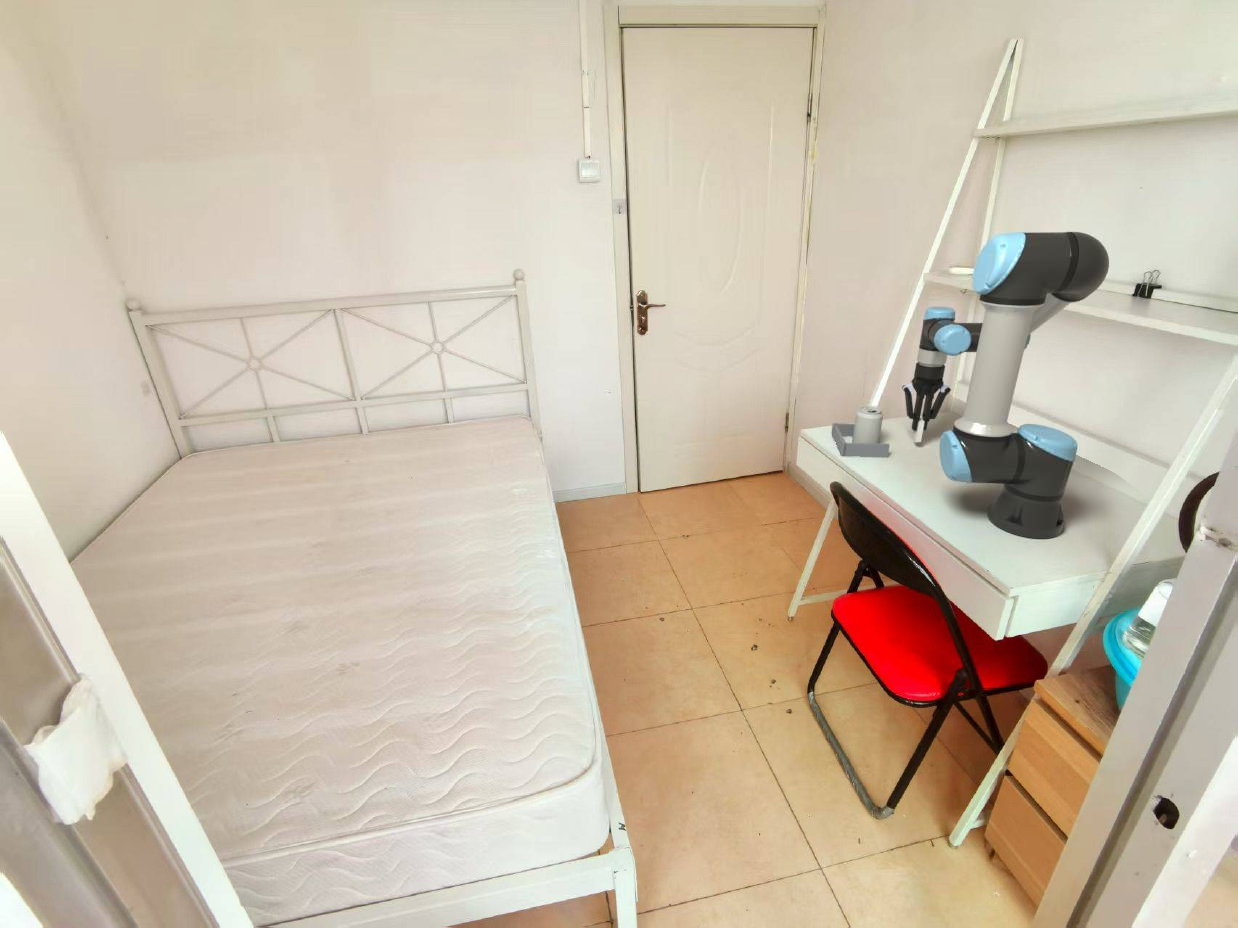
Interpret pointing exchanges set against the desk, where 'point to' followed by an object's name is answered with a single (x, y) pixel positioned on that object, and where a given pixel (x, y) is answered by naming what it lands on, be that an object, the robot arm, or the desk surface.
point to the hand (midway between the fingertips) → (916, 440)
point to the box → (856, 448)
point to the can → (867, 425)
